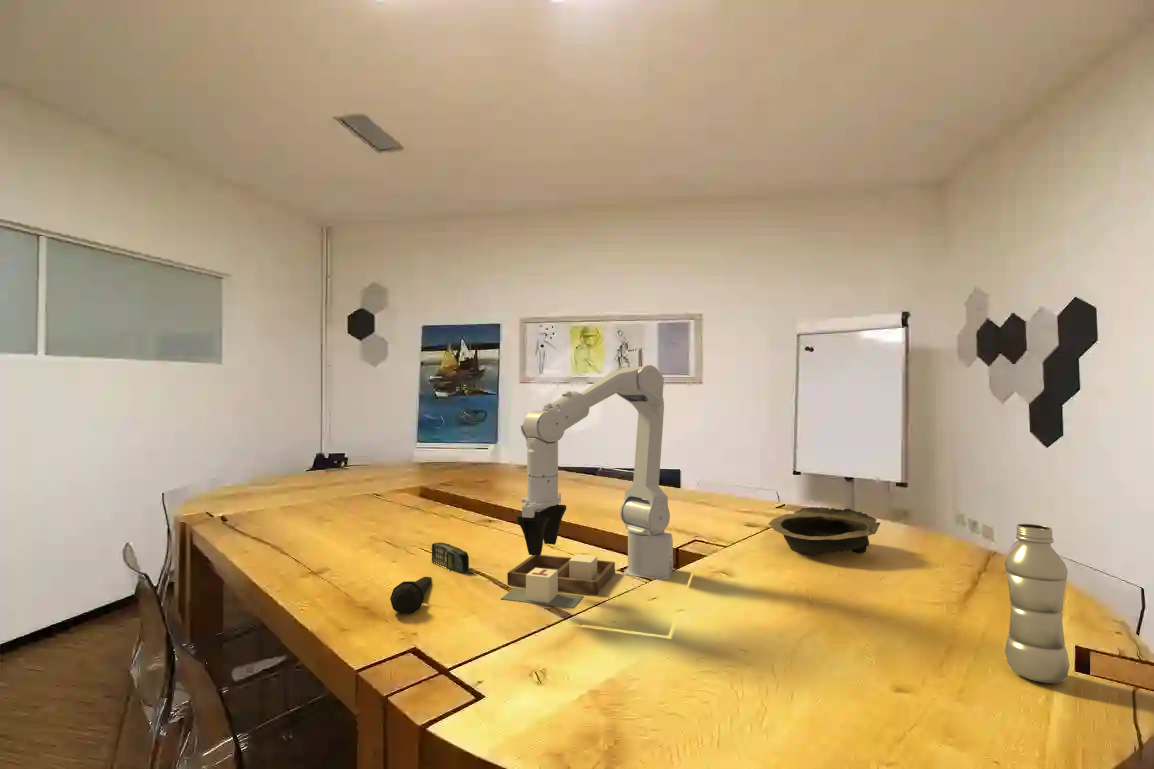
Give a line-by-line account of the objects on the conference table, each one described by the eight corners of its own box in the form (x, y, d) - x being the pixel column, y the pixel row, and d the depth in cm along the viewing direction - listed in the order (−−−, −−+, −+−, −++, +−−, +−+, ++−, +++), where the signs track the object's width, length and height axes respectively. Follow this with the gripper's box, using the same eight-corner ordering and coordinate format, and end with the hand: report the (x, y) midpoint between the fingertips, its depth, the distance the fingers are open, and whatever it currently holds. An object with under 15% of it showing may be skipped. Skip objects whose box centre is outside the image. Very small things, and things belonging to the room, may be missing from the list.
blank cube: (597, 578, 112) (597, 556, 112) (591, 585, 107) (590, 562, 108) (576, 576, 113) (576, 554, 113) (569, 583, 109) (569, 560, 109)
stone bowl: (883, 545, 138) (883, 508, 137) (876, 580, 117) (876, 538, 116) (781, 531, 151) (780, 497, 151) (758, 560, 130) (757, 522, 130)
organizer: (614, 575, 115) (614, 561, 115) (597, 597, 102) (597, 582, 102) (533, 566, 121) (533, 554, 121) (507, 587, 108) (507, 572, 108)
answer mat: (583, 599, 102) (583, 595, 102) (573, 611, 96) (573, 607, 96) (514, 590, 106) (514, 587, 106) (500, 601, 100) (500, 598, 100)
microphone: (421, 596, 112) (391, 624, 92) (413, 569, 113) (382, 590, 93) (447, 587, 112) (423, 613, 93) (439, 560, 113) (413, 579, 93)
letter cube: (557, 594, 102) (557, 569, 103) (548, 602, 98) (548, 577, 98) (535, 591, 104) (535, 567, 104) (525, 599, 100) (525, 574, 100)
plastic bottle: (993, 666, 76) (990, 521, 76) (1038, 664, 76) (1035, 520, 77) (1035, 691, 69) (1032, 533, 70) (1084, 689, 70) (1081, 532, 70)
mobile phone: (429, 542, 125) (463, 554, 114) (441, 539, 127) (476, 551, 116) (429, 564, 124) (464, 578, 113) (441, 561, 126) (476, 575, 115)
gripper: (537, 469, 110) (537, 537, 109) (506, 479, 96) (506, 558, 96) (570, 470, 107) (570, 540, 107) (543, 481, 94) (543, 561, 93)
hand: (542, 549), depth 101 cm, fingers open, 7 cm apart
